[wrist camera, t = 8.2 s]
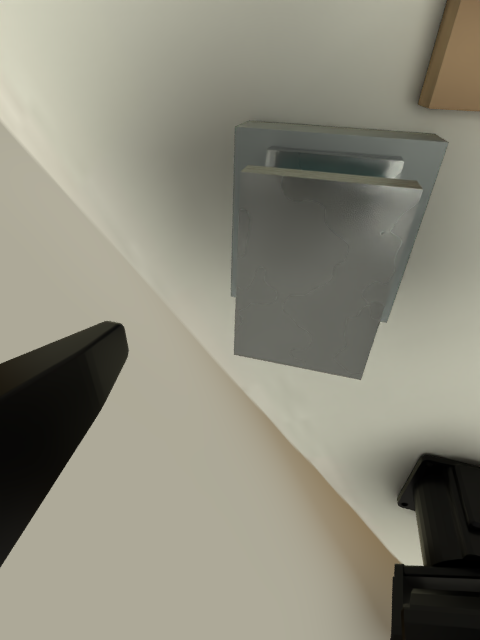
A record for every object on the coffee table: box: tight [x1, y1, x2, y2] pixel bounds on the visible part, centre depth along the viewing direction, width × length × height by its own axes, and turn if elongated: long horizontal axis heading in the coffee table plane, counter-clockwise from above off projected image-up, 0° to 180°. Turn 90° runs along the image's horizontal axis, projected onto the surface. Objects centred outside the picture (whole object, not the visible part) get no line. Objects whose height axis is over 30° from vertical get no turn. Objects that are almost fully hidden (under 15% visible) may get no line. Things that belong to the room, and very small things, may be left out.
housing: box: [234, 146, 423, 380], centre depth 14 cm, size 5×7×5 cm
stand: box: [231, 121, 449, 323], centre depth 17 cm, size 8×8×2 cm
